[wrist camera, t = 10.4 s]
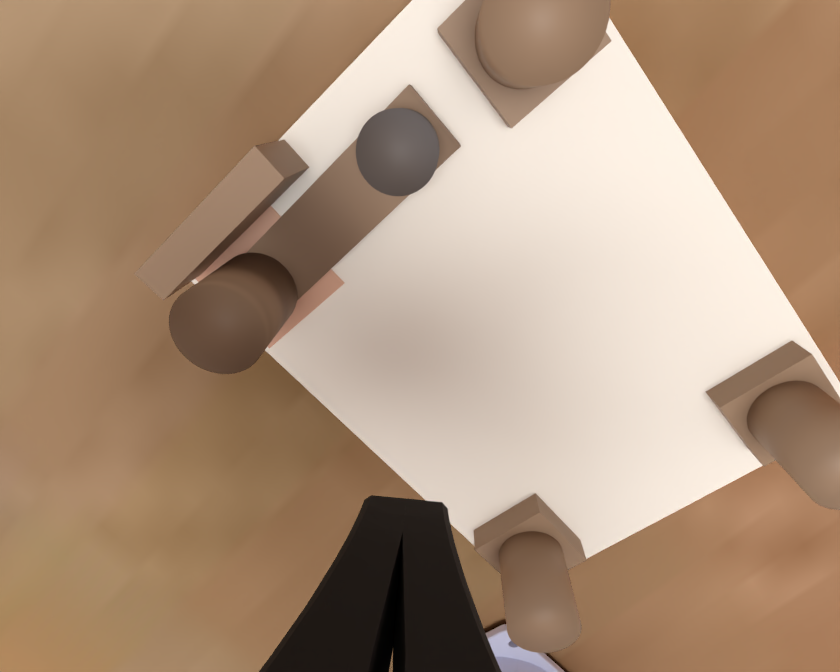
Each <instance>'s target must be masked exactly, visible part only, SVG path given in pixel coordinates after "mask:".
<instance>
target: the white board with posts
mask: <svg viewBox="0 0 840 672" xmlns="http://www.w3.org/2000/svg"><path fill="white" fill-rule="evenodd" d="M609 15H610V0H412V1H411V2H410V3H409V4H408V5H407V6H406V7H405V8H404V9H403V10H402V11H401V12H400V14H399V15H398V16H397V17H396V18H395V19H394V20H393V21H392V22H391V23H390V24H389V25H388V26H387V27H386V28H385V29H384V30H383V31H382V32H381V33H380V34H379V36H378V37H377V38H376V39H375V40H374V41H373V42H372V43H371V44H370V45H369V46H368V47H367V48H366V49H365V50H364V51H363V52H362V53H361V54H360V55H359V56H358V57H357V59H356V60H355V61H354V62H353V63H352V64H351V65H350V66H349V67H348V68H347V69H346V70H345V71H344V72H343V73H342V74H341V75H340V76H339V77H338V78H337V79H336V81H335V82H334V83H333V84H332V85H331V86H330V87H329V88H328V89H327V90H326V91H325V92H324V93H323V94H322V95H321V96H320V97H319V98H318V99H317V100H316V101H315V102H314V104H313V105H312V106H311V107H310V108H309V109H308V110H307V111H306V112H305V113H304V114H303V115H302V116H301V117H300V118H299V119H298V120H297V121H296V122H295V123H294V124H293V126H292V127H291V128H290V129H289V130H288V131H287V132H286V133H285V134H284V135H283V136H282V137H281V138H280V139H279V140H278V141H275V142H270V143H266V144H261V145H256V146H254V147H253V148H252V149H251V150H250V151H249V152H248V153H247V154H246V155H245V156H244V158H243V159H242V160H241V161H240V162H239V163H238V164H237V165H236V166H235V167H234V168H233V169H232V170H231V171H230V172H229V173H228V175H227V176H226V177H225V178H224V179H223V180H222V181H221V182H220V183H219V184H218V185H217V186H216V187H215V188H214V189H213V191H212V192H211V193H210V194H209V195H208V196H207V197H206V198H205V199H204V200H203V201H202V202H201V203H200V204H199V205H198V206H197V208H196V209H195V210H194V211H193V212H192V213H191V214H190V215H189V216H188V217H187V218H186V219H185V220H184V221H183V222H182V224H181V225H180V226H179V227H178V228H177V229H176V230H175V231H174V232H173V233H172V234H171V235H170V236H169V237H168V238H167V239H166V241H165V242H164V243H163V244H162V245H161V246H160V247H159V248H158V249H157V250H156V251H155V252H154V253H153V254H152V255H151V257H150V258H149V259H148V260H147V261H146V262H145V263H144V264H143V265H142V266H141V267H140V268H139V269H138V270H137V271H136V272H135V275H136V276H137V277H138V278H139V279H140V280H141V281H142V282H144V283H145V284H146V285H147V286H148V287H149V288H150V289H151V290H152V291H153V292H155V293H156V294H157V295H158V296H159V297H160V298H161V299H162V300H165V299H166V298H168V297H169V296H171V295H172V294H174V293H175V292H176V291H178V290H179V289H181V288H182V287H184V286H185V285H187V284H188V283H189V282H191V281H192V282H193V283H194V284H197V283H198V282H199V281H201V280H202V279H204V278H205V277H206V276H208V275H209V274H211V273H212V272H213V271H215V270H216V269H218V268H219V267H220V266H222V265H223V264H225V263H226V262H227V261H229V260H230V259H232V258H233V257H235V256H237V255H240V254H243V253H247V252H248V251H249V249H250V248H251V247H252V246H253V245H254V244H255V243H256V242H257V241H258V240H259V239H260V238H261V237H262V236H263V235H264V234H265V233H266V232H267V231H268V230H269V229H270V228H271V227H272V226H273V225H274V224H275V223H276V222H277V220H278V219H279V218H280V217H281V216H282V215H283V214H284V213H285V212H286V211H287V210H288V209H289V208H290V207H291V206H292V205H293V204H294V203H295V202H296V201H297V200H298V199H299V198H300V197H301V196H302V195H303V194H304V192H305V191H306V190H307V189H308V188H309V187H310V186H311V185H312V184H313V183H314V182H315V181H316V180H317V179H318V178H319V177H320V176H321V175H322V174H323V173H324V172H325V171H326V170H327V169H328V168H329V167H330V166H331V165H332V163H333V162H334V161H335V160H336V159H337V158H338V157H339V156H340V155H341V154H342V153H343V152H344V151H345V150H346V149H347V148H348V147H349V146H350V145H351V144H352V143H353V142H354V141H355V140H356V139H357V138H358V135H359V133H360V131H361V129H362V127H363V126H364V124H365V123H366V122H367V121H368V120H369V119H370V118H371V117H372V116H374V115H375V114H377V113H379V112H381V111H383V110H385V109H386V108H387V106H388V105H389V104H390V103H391V102H392V101H393V100H394V99H395V98H396V97H397V96H398V95H399V94H400V93H401V92H402V91H403V90H404V89H405V88H406V87H407V86H408V85H409V84H410V85H412V86H413V88H414V89H415V90H416V91H417V92H418V94H419V95H420V96H421V97H422V98H423V100H424V101H425V102H426V103H427V104H428V106H429V107H430V108H431V109H432V110H433V112H434V113H435V114H436V115H437V117H438V118H439V119H440V120H441V121H442V123H443V124H444V125H445V126H446V127H447V129H448V130H449V131H450V132H451V133H452V135H453V136H454V137H455V138H456V139H457V141H458V142H459V143H460V145H461V147H460V148H459V149H458V150H456V151H455V152H454V153H453V154H452V155H451V156H450V157H449V158H448V159H447V160H446V161H445V162H444V163H443V164H442V165H441V166H440V167H438V168H437V169H436V170H435V172H434V174H433V176H432V178H431V179H430V181H429V182H428V183H427V184H426V185H425V186H424V187H423V188H421V189H420V190H418V191H417V192H415V193H413V194H410V195H409V196H408V197H407V198H406V199H405V200H403V201H402V202H401V203H400V204H399V205H398V206H397V207H396V208H395V209H394V210H393V211H392V212H391V213H390V214H389V215H388V216H386V217H385V218H384V219H383V220H382V221H381V222H380V223H379V224H378V225H377V226H376V227H375V228H374V229H373V230H372V231H371V232H370V233H368V234H367V235H366V236H365V237H364V238H363V239H362V240H361V241H360V242H359V243H358V244H357V245H356V246H355V247H354V248H353V249H352V250H350V251H349V252H348V253H347V254H346V255H345V256H344V257H343V258H342V259H341V260H340V261H339V262H338V263H337V264H336V265H335V266H333V267H332V268H331V269H330V270H329V271H328V272H327V273H326V274H325V275H324V276H323V277H322V278H321V279H320V280H319V281H318V282H317V283H315V284H314V285H313V286H312V287H311V288H310V289H309V290H308V291H307V292H306V293H305V294H304V295H303V296H302V297H301V298H300V299H298V300H297V303H296V306H295V309H294V311H293V313H292V314H291V316H290V317H289V318H288V320H287V321H286V322H285V324H284V325H283V326H282V328H281V329H280V330H279V332H278V333H277V335H276V336H275V337H274V339H273V340H272V341H271V343H270V344H269V345H268V347H267V348H266V349H265V351H266V352H268V353H269V354H270V355H271V356H272V357H273V358H274V359H275V360H276V361H277V362H278V363H279V364H280V365H281V366H282V367H284V368H285V369H286V370H287V371H288V372H289V373H290V374H291V375H292V376H293V377H294V378H295V379H296V380H297V381H299V382H300V383H301V384H302V385H303V386H304V387H305V388H306V389H307V390H308V391H309V392H310V393H311V394H312V395H314V396H315V397H316V398H317V399H318V400H319V401H320V402H321V403H322V404H323V405H324V406H325V407H326V408H327V409H329V410H330V411H331V412H332V413H333V414H334V415H335V416H336V417H337V418H338V419H339V420H340V421H341V422H342V423H343V424H345V425H346V426H347V427H348V428H349V429H350V430H351V431H352V432H353V433H354V434H355V435H356V436H357V437H358V438H360V439H361V440H362V441H363V442H364V443H365V444H366V445H367V446H368V447H369V448H370V449H371V450H372V451H373V452H375V453H376V454H377V455H378V456H379V457H380V458H381V459H382V460H383V461H384V462H385V463H386V464H387V465H388V466H389V467H391V468H392V469H393V470H394V471H395V472H396V473H397V474H398V475H399V476H400V477H401V478H402V479H403V480H404V481H406V482H407V483H408V484H409V485H410V486H411V487H412V488H413V489H414V490H415V491H416V492H417V493H418V494H419V495H421V496H422V497H423V498H424V499H425V500H426V501H435V502H442V503H443V504H444V505H445V506H446V507H447V508H448V515H449V521H450V524H452V525H453V526H454V527H455V528H456V529H457V530H458V531H459V532H460V533H461V534H462V535H463V536H464V537H465V538H467V539H468V540H469V541H470V542H471V543H472V544H473V545H474V546H475V551H476V552H477V553H479V554H480V555H481V556H482V557H483V558H484V559H485V560H486V561H487V562H488V563H489V564H490V565H491V566H492V567H494V568H495V569H496V570H497V571H498V572H499V573H500V574H501V581H502V590H503V598H504V607H505V616H506V625H507V633H508V636H509V638H510V639H511V641H512V642H513V643H514V644H516V645H517V646H519V647H520V648H522V649H524V650H527V651H531V652H537V653H550V652H556V651H559V650H562V649H565V648H567V647H568V646H570V645H571V644H573V643H574V642H575V641H576V640H577V639H578V637H579V636H580V633H581V629H582V625H581V621H580V617H579V613H578V609H577V605H576V601H575V597H574V593H573V589H572V585H571V582H570V578H569V574H568V570H569V569H571V568H573V567H575V566H576V565H578V564H580V563H582V562H584V561H586V559H587V558H589V557H591V556H592V555H594V554H596V553H598V552H600V551H602V550H604V549H606V548H608V547H609V546H611V545H613V544H615V543H617V542H619V541H621V540H623V539H625V538H626V537H628V536H630V535H632V534H634V533H636V532H638V531H640V530H642V529H643V528H645V527H647V526H649V525H651V524H653V523H655V522H657V521H659V520H660V519H662V518H664V517H666V516H668V515H670V514H672V513H674V512H676V511H677V510H679V509H681V508H683V507H685V506H687V505H689V504H691V503H693V502H694V501H696V500H698V499H700V498H702V497H704V496H706V495H708V494H710V493H712V492H713V491H715V490H717V489H719V488H721V487H723V486H725V485H727V484H729V483H730V482H732V481H734V480H736V479H738V478H740V477H742V476H744V475H746V474H747V473H749V472H751V471H753V470H755V469H757V468H759V467H761V466H766V465H768V464H770V463H772V462H773V461H775V460H776V461H777V462H778V463H779V464H780V465H781V466H782V468H783V469H784V470H785V471H786V472H787V473H788V474H789V475H790V476H791V477H792V478H793V479H794V481H795V482H796V483H797V484H798V485H799V486H800V487H801V488H802V489H803V490H804V491H805V493H806V494H807V495H808V496H809V497H810V498H811V499H812V500H813V501H814V502H815V503H817V504H818V505H820V506H822V507H825V508H829V509H834V510H840V382H839V380H838V379H837V377H836V376H835V374H834V373H833V371H832V369H831V368H830V366H829V365H828V363H827V362H826V360H825V358H824V357H823V355H822V354H821V352H820V350H819V349H818V347H817V346H816V344H815V343H814V341H813V339H812V338H811V336H810V335H809V333H808V331H807V330H806V328H805V327H804V325H803V324H802V322H801V320H800V319H799V317H798V316H797V314H796V312H795V311H794V309H793V308H792V306H791V305H790V303H789V301H788V300H787V298H786V297H785V295H784V293H783V292H782V290H781V289H780V287H779V286H778V284H777V282H776V281H775V279H774V278H773V276H772V275H771V273H770V271H769V270H768V268H767V267H766V265H765V263H764V262H763V260H762V259H761V257H760V256H759V254H758V252H757V251H756V249H755V248H754V246H753V244H752V243H751V241H750V240H749V238H748V237H747V235H746V233H745V232H744V230H743V229H742V227H741V225H740V224H739V222H738V221H737V219H736V218H735V216H734V214H733V213H732V211H731V210H730V208H729V207H728V205H727V203H726V202H725V200H724V199H723V197H722V195H721V194H720V192H719V191H718V189H717V188H716V186H715V184H714V183H713V181H712V180H711V178H710V176H709V175H708V173H707V172H706V170H705V169H704V167H703V165H702V164H701V162H700V161H699V159H698V157H697V156H696V154H695V153H694V151H693V150H692V148H691V146H690V145H689V143H688V142H687V140H686V138H685V137H684V135H683V134H682V132H681V131H680V129H679V127H678V126H677V124H676V123H675V121H674V120H673V118H672V116H671V115H670V113H669V112H668V110H667V108H666V107H665V105H664V104H663V102H662V101H661V99H660V97H659V96H658V94H657V93H656V91H655V89H654V88H653V86H652V85H651V83H650V82H649V80H648V78H647V77H646V75H645V74H644V72H643V70H642V69H641V67H640V66H639V64H638V63H637V61H636V59H635V58H634V56H633V55H632V53H631V51H630V50H629V48H628V47H627V45H626V44H625V42H624V40H623V39H622V37H621V36H620V34H619V33H618V31H617V29H616V28H615V26H614V25H613V23H612V21H611V20H610V18H609Z"/></svg>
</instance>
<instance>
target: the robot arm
mask: <svg viewBox="0 0 840 672" xmlns="http://www.w3.org/2000/svg"><path fill="white" fill-rule="evenodd" d="M392 650H393V672H565V671H564V670H562V669H561V668H560V667H559V666H558V665H557V664H556V663H555V662H554V661H552V660H551V659H550V658H549V657H548V656H547V655H546V654H545V653H537V652H531V651H527V650H524V649H522V648H520V647H519V646H517V645H516V644H514V643H513V642H512V641H511V639H510V638H509V636H508V633H507V625H506V624H503V625H501V626H499V627H497V628H495V629H493V630H491V631H489V632H487V633H485V631H484V629H483V626H482V623H481V621H480V618H479V615H478V613H477V610H476V607H475V604H474V602H473V599H472V596H471V594H470V591H469V588H468V585H467V582H466V579H465V576H464V573H463V570H462V567H461V564H460V560H459V557H458V554H457V550H456V546H455V543H454V539H453V535H452V531H451V526H450V521H449V515H448V508H447V507H446V506H445V505H444V504H443V503H442V502H435V501H424V500H414V499H403V498H393V497H382V496H372V495H371V496H370V497H368V498H367V499H365V500H364V503H363V505H362V508H361V510H360V513H359V515H358V517H357V519H356V521H355V524H354V526H353V528H352V530H351V531H350V533H349V535H348V537H347V539H346V541H345V543H344V544H343V546H342V548H341V550H340V552H339V553H338V555H337V557H336V559H335V560H334V562H333V564H332V565H331V567H330V568H329V570H328V572H327V573H326V575H325V577H324V578H323V580H322V581H321V583H320V585H319V586H318V588H317V589H316V591H315V593H314V594H313V596H312V597H311V599H310V600H309V602H308V604H307V605H306V607H305V608H304V610H303V611H302V612H301V614H300V615H299V617H298V618H297V620H296V621H295V622H294V624H293V625H292V627H291V628H290V629H289V631H288V632H287V634H286V635H285V637H284V638H283V639H282V641H281V642H280V644H279V645H278V647H277V648H276V649H275V651H274V652H273V654H272V655H271V656H270V658H269V659H268V660H267V662H266V663H265V664H264V666H263V667H262V668H261V670H260V671H259V672H389V667H390V661H391V656H392Z"/></svg>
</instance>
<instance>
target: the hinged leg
mask: <svg viewBox="0 0 840 672" xmlns="http://www.w3.org/2000/svg"><path fill="white" fill-rule="evenodd" d="M460 147H461V145H460V143H459V142H458V141H457V139H456V138H455V137H454V136H453V135H452V133H451V132H450V131H449V130H448V129H447V127H446V126H445V125H444V124H443V123H442V121H441V120H440V119H439V118H438V117H437V115H436V114H435V113H434V112H433V110H432V109H431V108H430V107H429V106H428V104H427V103H426V102H425V101H424V100H423V98H422V97H421V96H420V95H419V94H418V92H417V91H416V90H415V89H414V88H413V86H412V85H410V84H409V85H408V86H407V87H406V88H405V89H404V90H403V91H402V92H401V93H400V94H399V95H398V96H397V97H396V98H395V99H394V100H393V101H392V102H391V103H390V104H389V105H388V106H387V108H386V109H385V110H383V111H381V112H379V113H377V114H375V115H374V116H372V117H371V118H370V119H369V120H368V121H367V122H366V123H365V124H364V126H363V127H362V129H361V131H360V133H359V135H358V138H357V139H356V140H355V141H354V142H353V143H352V144H351V145H350V146H349V147H348V148H347V149H346V150H345V151H344V152H343V153H342V154H341V155H340V156H339V157H338V158H337V159H336V160H335V161H334V162H333V163H332V165H331V166H330V167H329V168H328V169H327V170H326V171H325V172H324V173H323V174H322V175H321V176H320V177H319V178H318V179H317V180H316V181H315V182H314V183H313V184H312V185H311V186H310V187H309V188H308V189H307V190H306V191H305V192H304V194H303V195H302V196H301V197H300V198H299V199H298V200H297V201H296V202H295V203H294V204H293V205H292V206H291V207H290V208H289V209H288V210H287V211H286V212H285V213H284V214H283V215H282V216H281V217H280V218H279V219H278V220H277V222H276V223H275V224H274V225H273V226H272V227H271V228H270V229H269V230H268V231H267V232H266V233H265V234H264V235H263V236H262V237H261V238H260V239H259V240H258V241H257V242H256V243H255V244H254V245H253V246H252V247H251V248H250V249H249V251H248V252H247V253H243V254H240V255H237V256H235V257H233V258H232V259H230V260H229V261H227V262H226V263H225V264H223V265H222V266H220V267H219V268H218V269H216V270H215V271H213V272H212V273H211V274H209V275H208V276H206V277H205V278H204V279H202V280H201V281H199V282H198V283H197V284H195V285H194V286H192V287H191V288H190V289H188V290H187V291H185V292H184V293H183V294H181V295H180V296H179V297H178V298H177V300H176V301H175V302H174V304H173V306H172V308H171V311H170V315H169V328H170V333H171V336H172V338H173V341H174V343H175V345H176V346H177V348H178V349H179V351H180V352H181V353H182V354H183V355H184V356H185V357H186V358H187V359H188V360H189V361H191V362H192V363H193V364H195V365H197V366H198V367H200V368H202V369H204V370H207V371H210V372H214V373H219V374H232V373H237V372H241V371H243V370H246V369H247V368H249V367H251V366H252V365H253V364H254V363H255V362H256V361H257V360H258V359H259V357H260V356H261V355H262V353H263V352H264V351H265V349H266V348H267V347H268V345H269V344H270V343H271V341H272V340H273V339H274V337H275V336H276V335H277V333H278V332H279V330H280V329H281V328H282V326H283V325H284V324H285V322H286V321H287V320H288V318H289V317H290V316H291V314H292V313H293V311H294V309H295V306H296V303H297V300H298V299H300V298H301V297H302V296H303V295H304V294H305V293H306V292H307V291H308V290H309V289H310V288H311V287H312V286H313V285H314V284H315V283H317V282H318V281H319V280H320V279H321V278H322V277H323V276H324V275H325V274H326V273H327V272H328V271H329V270H330V269H331V268H332V267H333V266H335V265H336V264H337V263H338V262H339V261H340V260H341V259H342V258H343V257H344V256H345V255H346V254H347V253H348V252H349V251H350V250H352V249H353V248H354V247H355V246H356V245H357V244H358V243H359V242H360V241H361V240H362V239H363V238H364V237H365V236H366V235H367V234H368V233H370V232H371V231H372V230H373V229H374V228H375V227H376V226H377V225H378V224H379V223H380V222H381V221H382V220H383V219H384V218H385V217H386V216H388V215H389V214H390V213H391V212H392V211H393V210H394V209H395V208H396V207H397V206H398V205H399V204H400V203H401V202H402V201H403V200H405V199H406V198H407V197H408V196H409V195H410V194H413V193H415V192H417V191H418V190H420V189H421V188H423V187H424V186H425V185H426V184H427V183H428V182H429V181H430V179H431V178H432V176H433V174H434V172H435V170H436V169H437V168H438V167H440V166H441V165H442V164H443V163H444V162H445V161H446V160H447V159H448V158H449V157H450V156H451V155H452V154H453V153H454V152H455V151H456V150H458V149H459V148H460Z"/></svg>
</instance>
